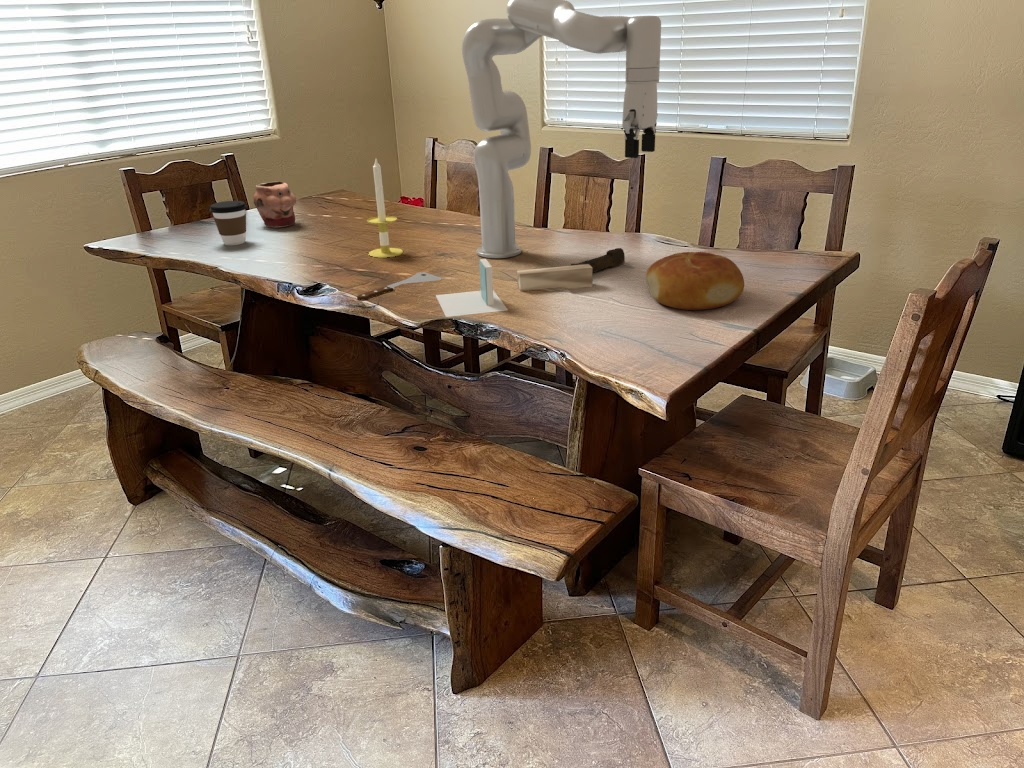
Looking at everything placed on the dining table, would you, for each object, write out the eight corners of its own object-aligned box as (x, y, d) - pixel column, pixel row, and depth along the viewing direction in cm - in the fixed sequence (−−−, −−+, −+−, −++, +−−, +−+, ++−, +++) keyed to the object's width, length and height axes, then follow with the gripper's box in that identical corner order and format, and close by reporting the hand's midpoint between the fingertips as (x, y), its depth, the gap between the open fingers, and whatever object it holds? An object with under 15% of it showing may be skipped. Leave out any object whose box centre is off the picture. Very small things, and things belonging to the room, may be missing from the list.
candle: (361, 256, 223) (349, 159, 212) (381, 247, 231) (372, 153, 220) (389, 259, 219) (379, 160, 207) (409, 250, 227) (401, 155, 215)
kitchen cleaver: (377, 303, 182) (350, 293, 188) (377, 307, 183) (350, 297, 189) (450, 279, 199) (423, 270, 205) (450, 283, 200) (423, 274, 205)
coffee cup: (258, 238, 246) (252, 200, 241) (244, 247, 236) (237, 207, 231) (225, 238, 247) (218, 200, 242) (210, 247, 237) (202, 208, 232)
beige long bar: (517, 290, 190) (517, 270, 188) (588, 283, 193) (588, 264, 191) (520, 294, 187) (519, 274, 185) (592, 287, 191) (592, 267, 189)
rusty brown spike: (579, 280, 196) (579, 262, 194) (568, 277, 199) (568, 259, 197) (631, 265, 207) (632, 248, 205) (620, 262, 209) (621, 245, 207)
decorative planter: (244, 224, 264) (236, 183, 258) (274, 217, 273) (267, 177, 267) (280, 232, 253) (273, 188, 247) (310, 224, 261) (304, 182, 255)
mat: (435, 297, 186) (435, 295, 186) (493, 291, 189) (493, 289, 189) (446, 319, 172) (446, 317, 172) (508, 312, 175) (508, 310, 175)
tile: (480, 296, 184) (478, 259, 180) (487, 295, 184) (485, 258, 181) (486, 305, 178) (485, 267, 174) (493, 305, 178) (492, 266, 174)
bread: (621, 300, 181) (622, 258, 177) (679, 277, 196) (681, 237, 191) (706, 322, 166) (709, 276, 162) (762, 295, 181) (766, 253, 176)
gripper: (641, 73, 185) (639, 148, 192) (611, 79, 171) (609, 159, 178) (672, 73, 181) (668, 150, 188) (643, 78, 168) (640, 160, 175)
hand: (640, 154), depth 183 cm, fingers open, 9 cm apart
